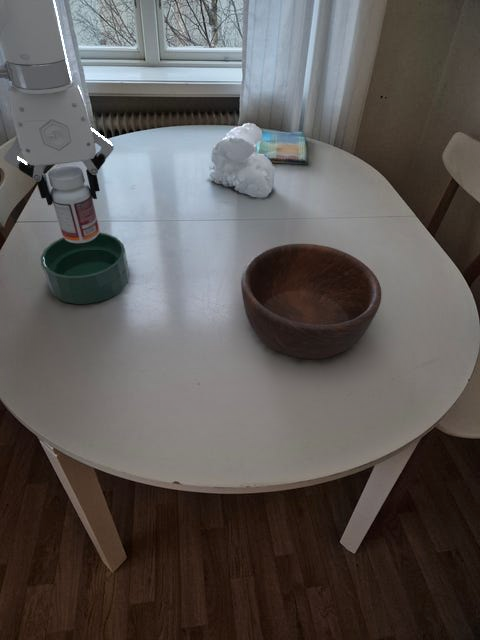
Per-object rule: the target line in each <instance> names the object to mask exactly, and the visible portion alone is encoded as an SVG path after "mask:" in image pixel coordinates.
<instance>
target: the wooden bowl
mask: <svg viewBox="0 0 480 640" xmlns="http://www.w3.org/2000/svg"><path fill="white" fill-rule="evenodd" d="M378 279H379V278H377V276H376V274H375V273H374V272H373V270H371V268H370V267H369V266H367V265H366V264H365V263H364V262H363V261H361V260H360V259H358V258H357V257H355V256H353V255H351V254H349V253H347V252H346V251H342V250H340V249H337V248H335V247H330V246H327V245H321V244H314V243H287V244H282V245H277V246H274V247H271V248H268V249H266V250H263V251H261V252H259V253H258V254H257V255H255V256H254V257H252V258H251V260H249V262H248V263H247V264H246V265H245V267H244V270H243V272H242V275H241V280H240V284H241V285H240V287H241V295H242V296H241V297H242V304H243V307H244V311H245V315H246V318H247V320H248V322H249V325H250V326H251V328H252V329H253V331H254V333H255V334H256V335H257V336H258V338H259V339H260V340H261V341H263V343H264V344H266V345H267V346H268V347H270V348H271V349H273V350H275V351H277V352H279V353H281V354H284V355H287V356H290V357H293V358H298V359H303V360H304V359H305V360H321V359H326V358H331V357H334V356H336V355H339V354H341V353H343V352H344V351H346V350H348V349H350V348H351V347H352V346H353V345H354V344H356V343H358V341H359V340H360V339H361V338H362V337H363V335H365V333H366V331H367V330H369V329H368V328H369V327H370V325H371V324H372V322H373V320H374V318H375V316H376V315H377V313H378V311H379V308H380V306H381V303H382V288H381V283H380V281H379V280H378Z"/></svg>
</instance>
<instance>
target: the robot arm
mask: <svg viewBox="0 0 480 640" xmlns="http://www.w3.org/2000/svg"><path fill="white" fill-rule="evenodd" d="M59 19H60V18H59V15H58V10H57V5H56V1H55V0H0V45H1V49H2V53H3V57H4V59H5V62H4V63H3V64H1V65H0V79H5V80H8V82H11V84H10V85H9V87H8V89H7V93H8V101H9V107H10V113H11V117H12V121H13V126H14V129H15V133H16V136H15V137H14V139H13V141H12V142H11V143H10V145H9V146H8V148H7V149H6V151H4V154H3V160H4V161H5V162H7V163H8V164H10V165H11V166H13V167H15V168H17V169H18V170H19V171H20V172H21V173H23V174H25V175H26V176H28V177H30V178H32V180H33V181H34V182H36V185H37V188H38V191H39V195H40V198H41V199H45V200H46V204H47V206H52V205H53V201H52V198H51V188H50V185H49V184H50V183H49V181H48V177H47V175H46V174H45V173H44V166H53V165H63V164H71V163H72V164H73V163H80V162H82V163H83V164H84V166H85V167H86V169H85V172H86V176H87V180H88V186H89V188H90V190H91V195H92V199H93V200H97V199H98V196H97V192H100V191H101V189H100V185H99V180H98V173H99V170H100V169H101V168H102V167H103V165H104V164H105V162H106V160H107V159H108V158H109V156H110V155H111V154H112V152H113V151H114V145H113V143H112V142H111V141H110V140H109V139H107V138H105V136H103V135H101V134H100V133H99V132H98V131H96V130H95V129H94V128H92V124H91V120H90V117H89V113H88V109H87V105H86V102H85V99H84V97H83V93H82V91H81V89H80V86H79V84H78V83H77V82H76V81H74V80H72V76H71V71H70V67H69V66H70V65H69V62H68V58H67V53H66V47H65V43H64V38H63V34H62V28H61V24H60V20H59ZM96 144H97V145H98V146H99V147H100V149H99V151H97V150H96V149H97V148H96ZM20 152H21V153H22V157H23V158H21V157H19V153H20Z"/></svg>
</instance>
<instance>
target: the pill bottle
mask: <svg viewBox="0 0 480 640" xmlns="http://www.w3.org/2000/svg"><path fill="white" fill-rule="evenodd" d="M83 171H84V170H83V169H82V168H81V167H79V166H77V165H69V164H67V165H60V166H56V167H54V168H52V169H50V170H49V171H48V173H47V176H48V180H49V184H50V186H51V189H50V191H51V198H52V202H53V204H52V205H53V208H54V212H55V214H56V215H55V216H56V218H57V221H58V225H59V228H60V232H61V235H62V238H63V237H64V239H65V240H67V241H68V242H71V243H86V242H89V241H91V240H93V239H95V238H96V237H97V236H98V234H99V232H100V225H99V222H98V217H97V213H96V209H95V204H94V198H93V199H92V195H91V190H90V186H89V184H87V183H86V178H85V174H84V172H83Z"/></svg>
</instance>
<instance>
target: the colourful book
mask: <svg viewBox="0 0 480 640" xmlns="http://www.w3.org/2000/svg"><path fill="white" fill-rule="evenodd" d="M261 130H262V129H261ZM262 136H263V137H262V139H261V141H260V142H259V143H258V144H257V146H256V153H259V154H264V156H265V157H266V158H268V159H269V160H270V161H271V163H276V164H289V165H290V164H292V165H304V166H305V165H308V163H309V159H308V148H307V137H306V134H305V132H302V131H278V132H277V131H276V132H275V131H268V130H262Z"/></svg>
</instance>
